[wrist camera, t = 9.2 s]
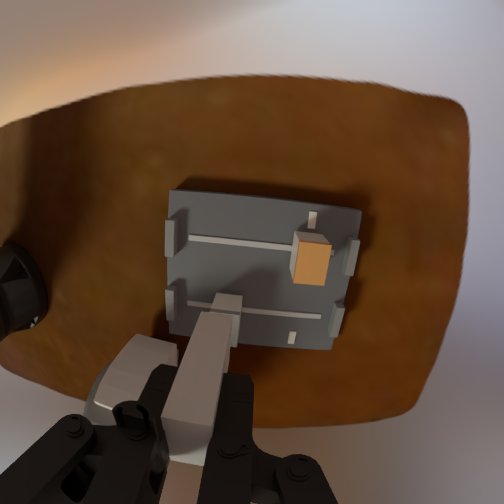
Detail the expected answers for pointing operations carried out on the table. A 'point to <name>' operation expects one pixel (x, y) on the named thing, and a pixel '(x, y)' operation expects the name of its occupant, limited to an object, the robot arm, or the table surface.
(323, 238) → the fader
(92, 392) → the alarm clock
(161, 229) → the table surface
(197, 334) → the robot arm
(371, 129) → the table surface
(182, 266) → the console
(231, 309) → the fader
